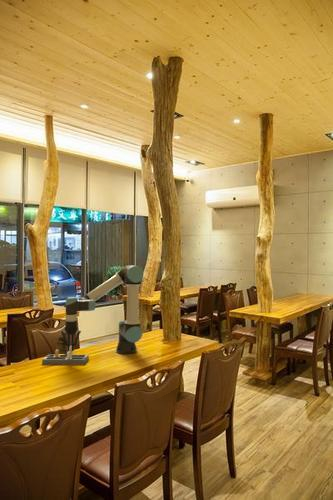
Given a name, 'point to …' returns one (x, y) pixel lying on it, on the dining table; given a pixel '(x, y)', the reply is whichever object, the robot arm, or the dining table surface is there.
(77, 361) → the switch bank
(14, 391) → the dining table surface
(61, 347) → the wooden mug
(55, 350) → the tab ochre
